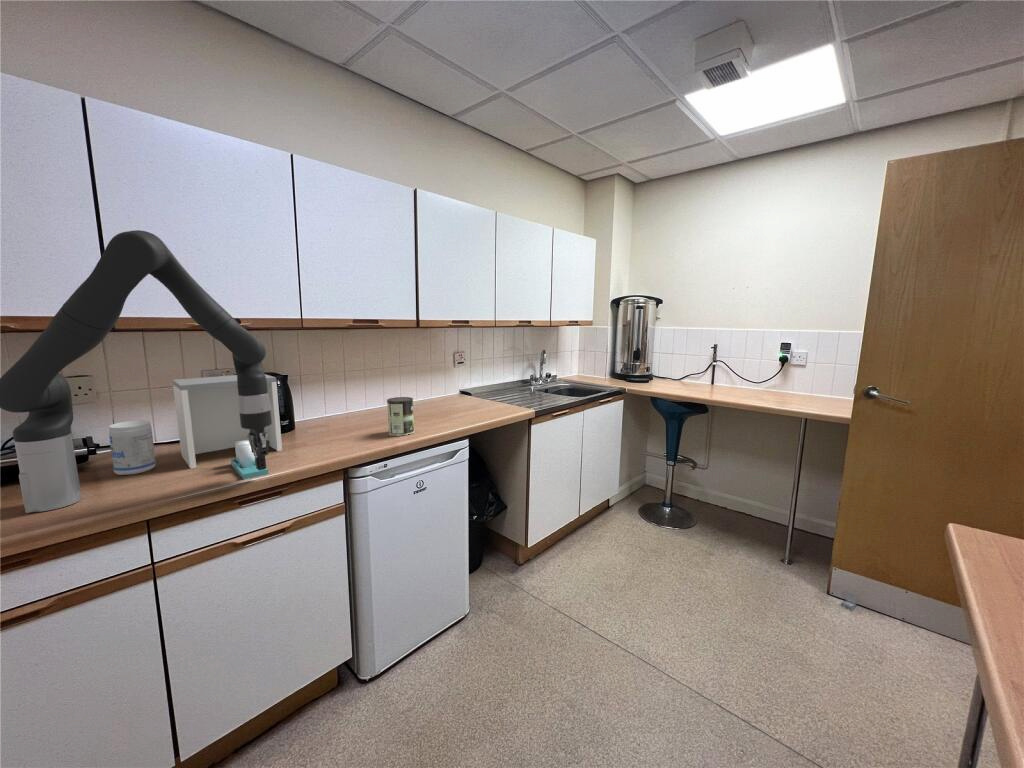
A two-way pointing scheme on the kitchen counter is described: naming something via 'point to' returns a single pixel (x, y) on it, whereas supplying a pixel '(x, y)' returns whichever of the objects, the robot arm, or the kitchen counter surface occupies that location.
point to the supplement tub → (132, 447)
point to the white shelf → (216, 415)
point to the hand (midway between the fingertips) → (261, 468)
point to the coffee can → (400, 416)
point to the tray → (249, 470)
